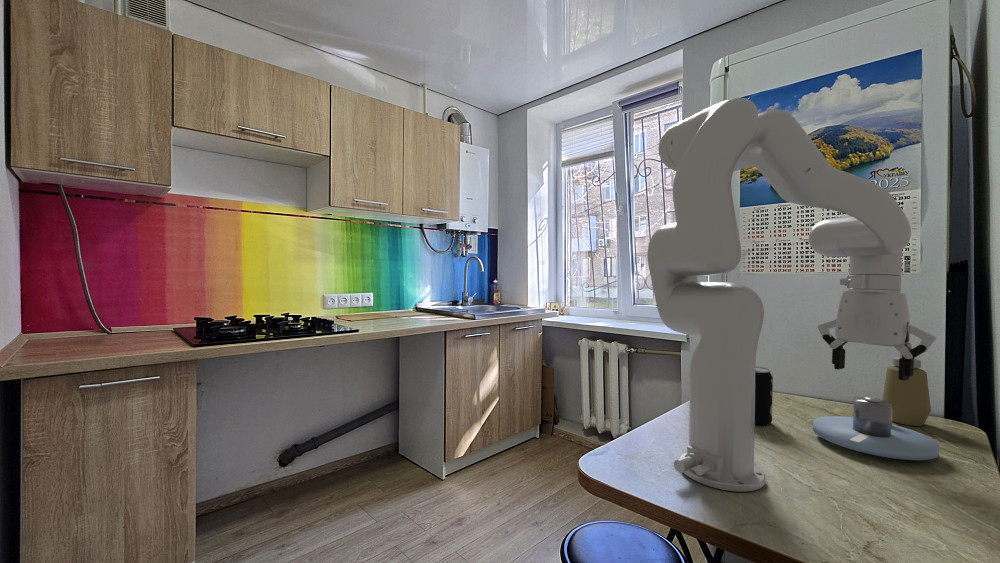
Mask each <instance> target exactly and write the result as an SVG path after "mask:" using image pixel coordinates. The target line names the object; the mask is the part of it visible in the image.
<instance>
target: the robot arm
mask: <svg viewBox="0 0 1000 563" xmlns="http://www.w3.org/2000/svg"><path fill="white" fill-rule="evenodd" d="M657 151H658V155H659V158H660V160H661V161H662V163H663V165H665V166H666V168H668V169H670V170H671V171H674V172H675V175H674V179H673V184H672V200H673V209H674V216H675V222H672V223H668V224H665V225H663V226H660V228H657V229H656V231H655V232H654V233H653V234H652V236H651V237H650V240H649V243H648V246H647V253H646V254H647V255H646V256H647V258H646V259H647V265H648V270H649V275H650V280H651V285H652V290H653V294H654V299H655V303H656V304H655V305H656V308H657V313H658V315H659V318H660V319H661V321H662V322H663V324H664V325H665V326H666V327H667V328H668V329H670V330H672V331H674V332H677V333H680V334H685V335H689V336H690V335H691V336H695V337H700V339H699V342H698V343H697V346H696V347H695V349H694V351H693V353H692V356H691V358H690V359H691V360H690V364H689V417H688V418H689V419H688V420H689V423H688V424H689V425H688V426H689V427H688V428H689V430H688V431H689V432H688V434H689V435H688V438H689V439H688V445H687V447H686V451H687V452H685V453H683V454H681V455H680V456H679V458H678V459H676V460H674V462H673V467H674V469H675V471H677V472H678V473H681V474H682V473H683V474H684V475H685V476H687V477H688V478H690V479H692V480H693V481H695V482H696V483H697V482H698V483H699V484H702V485H704V486H707V487H710V488H714V489H718V490H724V491H728V492H742V493H743V492H753V491H758V490H760V489H762V488H763V487H764V486H765V484H766V474H765V473H764V471H763V470H762V469H761V468H760V467H759V466H757V465H756V464H755V427H756V425H755V366H756V363H757V362H756V361H757V352H758V351H757V350H758V345H759V338H760V335H761V332H762V328H763V325H764V324H763V323H764V318H765V317H764V316H765V308H764V304H763V301H762V298H761V297H760V296H759V294H758V293H757V292H756V291H755V290H753V289H752V288H750V287H748V286H746V285H744V284H740V283H736V282H728V281H698V280H699V279H698V277H701V276H702V277H704V276H706V277H708V276H710V277H711V276H712V277H713V276H719V275H720V276H721V275H725V274H729V273H731V272H732V271H733V270H734V271H735V269H736V268H737V267H738V266H739V264H740V263H741V262H740V261H741V258H742V247H741V239H740V238H741V237H740V232H739V228H738V222H737V216H736V210H735V203H734V199H733V198H734V197H733V191H732V190H733V189H732V179H733V173H734V172H737V171H741V170H744V169H748V168H752V167H754V168H756V169H757V170H758V171H759V173H760V174H762V176H763V177H764V178H765V179H766V181H767V182H768V183H769V185H770V186H771V187H772V188H773V189H774V190H775V192H776V193H777V195H778V196H779V197H781V199H782V200H783V201H785V202H788V203H790V204H795V205H798V206H799V205H801V206H803V207H809V208H817V209H823V210H829V211H833V212H839V213H841V214H844V215H846V216H838V217H831V218H827V219H824V220H820V221H819V222H817V223H815V224H814V226H812V227H811V229H810V231H809V234H808V242H809V245H810V247H811V249H812V250H813V251H814V252H816V253H817V254H819V255H821V256H823V257H829V258H842V257H843V258H844V257H849V269H848V274H847V277H844V278H840V279H839V284H840V285H841V286H846V288H847V291H845V290H842V293H841V296H840V300H839V303H838V304H839V305H838V308H837V314H836V319H833V320H831V321H828V322H824V323H822V324H818V326H817V329H818V331H819V334H820V335H821V337H822V339H823V341H824V342H825V343H826V344H828V345H829V348H830V349H832V352H831V364H832V365H833V368H834V370H843V369H845V367H846V366H845V365H846V349H845V348H844V346H845V345H846V344H848V343H858V344H865V345H874V346H883V347H894V348H895V349H896V350H897V352H899V354H900V353H901V354H902V358H900V359H899V376H898V379H900V380H903V381H905V380H908V379H909V376H911V377H912V376H913V367H914V358H915V359H917V357H920V355H922V354H923V353H925V352H927V351H929V349H930V348H931V346H932V345H933V344H934V343H935V342H936V340H937V336H935V335H934V334H931V333H928V332H927V331H924V330H923V329H921V328H918V327H917V326H914V325H912V324H911V323H910V313H909V305H908V300H907V295H906V293H903V292H902V291H901V290H902V274H903V273H902V269H903V250H904V249H905V248H906V247H907V246H908V244H909V243H910V241H911V236H912V228H911V225H910V222H909V218H907V216H906V213H905V212H904V211H903V209H902V207H901V205H899V202H897V200H896V199H895V198H894V197H893V196H892V195H891V193H890V192H889V191H887V190H886V189H885V188H884V187H881V186H880V185H878V184H876V183H874V182H872V181H870V180H867V179H865V178H862V177H860V176H858V175H856V174H853V173H850V172H847V171H844V170H842V169H841V170H840V169H838V168H835V167H833V166H832V165H831V163H830V162H829V161H828V160H827V158H826V157H825V155H823V153H822V152H821V150H820V149H819V147H817V145H816V143H814V141H813V140H812V139H811V138H810V136H809V135H808V134H807V132H806V131H805V130H804V128H803V127H802V126H801V124H800V123H799V121H797V119H796V118H795V117H794V115H793V114H792V113H790V112H788V111H786V110H784V109H770V110H769V109H768V110H766V111H762V112H759V111H758V108H757V106H756V104H755V103H754V102H753V101H752V100H750V99H748V98H746V97H734V98H729V99H725V100H723V101H720V102H718V103H716V104H713V105H711V106H709V107H707V108H705V109H702V110H701V111H699V112H697V113H695V114H694V115H691V116H690V117H686V118H685V119H683V120H681V121H679V122H677V123H675V124H673V125H672V126H670V127H668V128H667V129H666V130H665V131H664V133H663V134H662V135H661V138H660V139H659V142H658V150H657ZM833 328H835V332H834V334H835V337H834V336H833V335H832V334H831V332H830V329H833ZM911 335H913V336H915V337H917V338H919V339H920V343H919V344H918V345H917V346H915V347H912V348H911V347H910V346H909V345H908V343H910V338H911Z"/></svg>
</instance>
